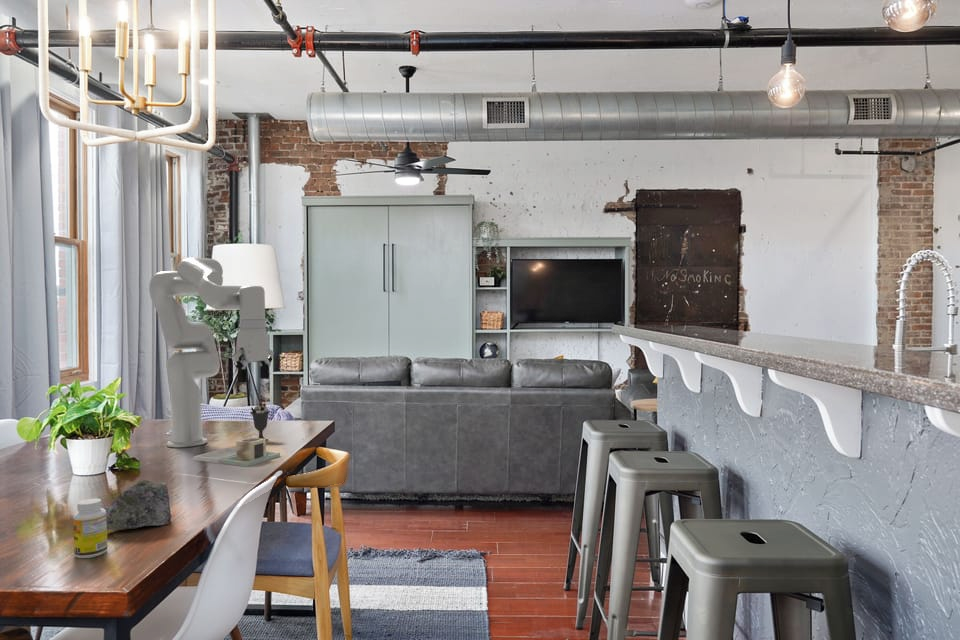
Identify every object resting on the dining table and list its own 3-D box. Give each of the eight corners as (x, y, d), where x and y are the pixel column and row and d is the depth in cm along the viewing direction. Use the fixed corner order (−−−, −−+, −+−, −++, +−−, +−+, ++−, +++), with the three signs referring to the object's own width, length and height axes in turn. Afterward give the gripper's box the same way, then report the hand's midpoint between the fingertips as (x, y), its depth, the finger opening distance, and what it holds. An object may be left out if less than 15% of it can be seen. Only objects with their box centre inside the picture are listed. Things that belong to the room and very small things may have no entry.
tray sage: (221, 464, 202) (221, 459, 202) (255, 454, 214) (255, 450, 214) (247, 467, 197) (246, 462, 197) (280, 457, 210) (280, 452, 210)
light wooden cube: (236, 460, 204) (236, 440, 204) (251, 456, 210) (250, 437, 210) (252, 462, 202) (251, 442, 202) (266, 458, 207) (266, 438, 207)
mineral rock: (94, 536, 141) (93, 487, 140) (120, 519, 151) (118, 474, 151) (157, 534, 141) (156, 486, 141) (178, 517, 152) (177, 473, 152)
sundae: (274, 438, 240) (273, 396, 239) (266, 442, 233) (265, 399, 233) (256, 438, 241) (255, 396, 240) (247, 442, 234) (246, 399, 233)
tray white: (193, 461, 207) (193, 456, 207) (228, 451, 219) (228, 447, 219) (217, 464, 202) (217, 459, 202) (251, 454, 215) (251, 449, 215)
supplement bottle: (76, 551, 131) (74, 499, 131) (108, 547, 134) (107, 495, 133) (72, 561, 126) (70, 507, 126) (106, 556, 129) (104, 503, 128)
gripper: (262, 324, 220) (263, 377, 221) (222, 326, 205) (224, 383, 205) (281, 324, 217) (282, 377, 218) (242, 326, 202) (243, 384, 202)
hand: (254, 380), depth 211 cm, fingers open, 9 cm apart
